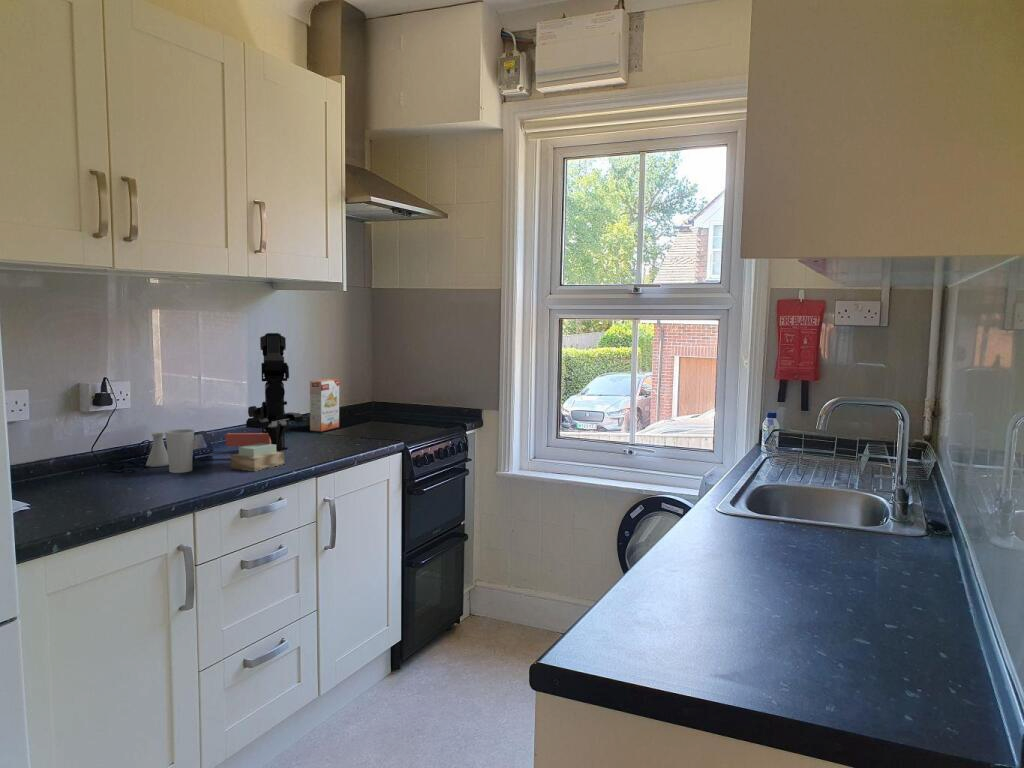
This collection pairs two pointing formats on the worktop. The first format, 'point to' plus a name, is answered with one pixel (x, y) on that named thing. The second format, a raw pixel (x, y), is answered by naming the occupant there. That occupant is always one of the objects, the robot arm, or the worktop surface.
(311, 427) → the cracker box
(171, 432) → the cup
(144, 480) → the worktop surface
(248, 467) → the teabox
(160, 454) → the flask
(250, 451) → the green soap bar
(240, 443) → the red rectangular slab
